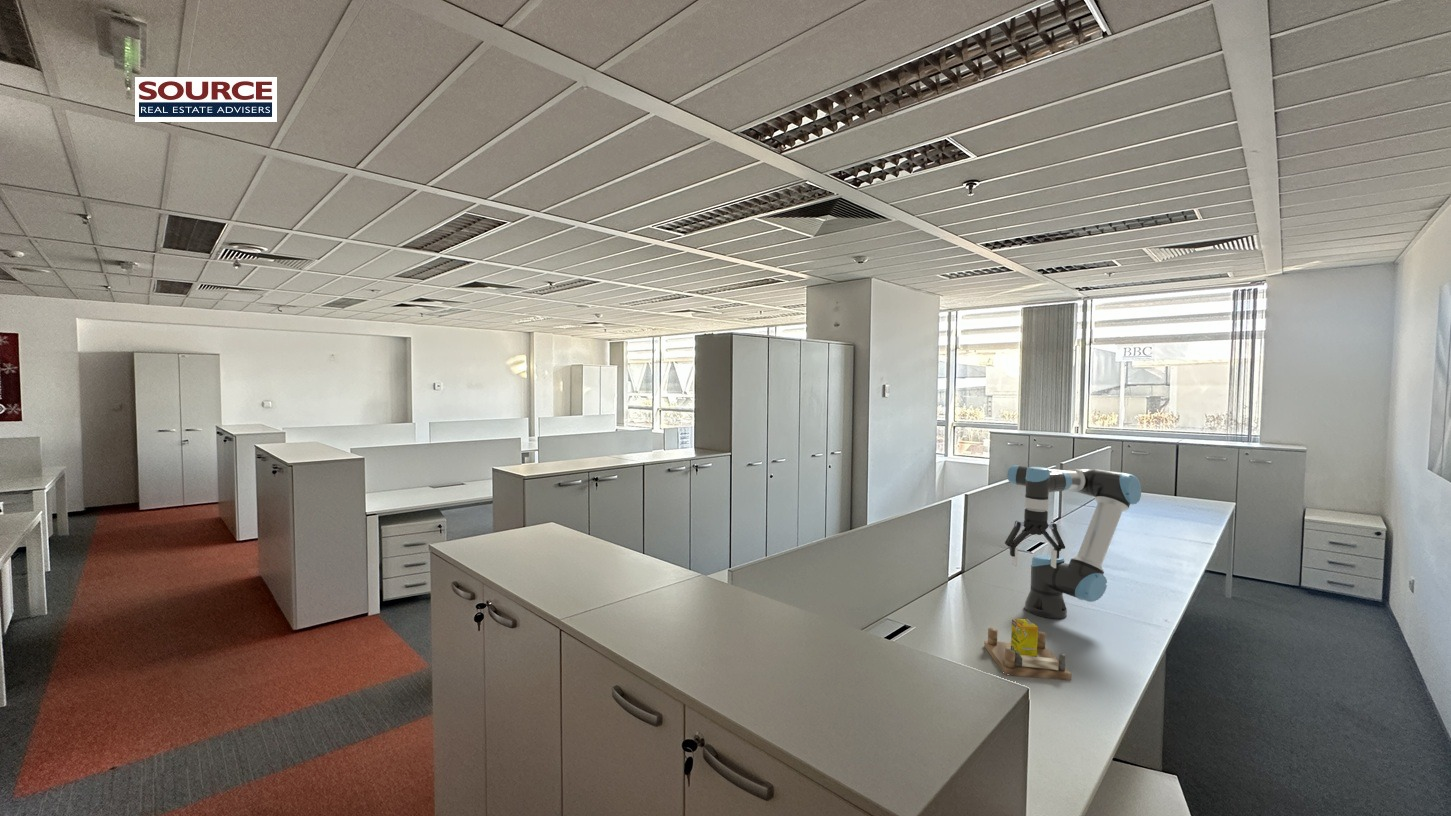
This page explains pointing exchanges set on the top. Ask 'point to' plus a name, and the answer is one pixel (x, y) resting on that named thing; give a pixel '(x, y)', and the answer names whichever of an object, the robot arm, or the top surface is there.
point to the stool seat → (1007, 664)
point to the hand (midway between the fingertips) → (1033, 566)
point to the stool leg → (1036, 662)
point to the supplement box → (1024, 637)
